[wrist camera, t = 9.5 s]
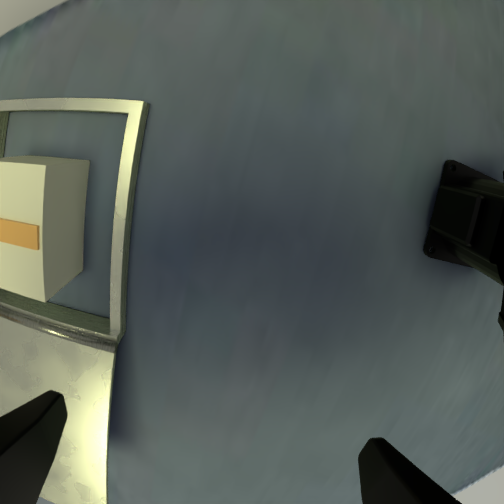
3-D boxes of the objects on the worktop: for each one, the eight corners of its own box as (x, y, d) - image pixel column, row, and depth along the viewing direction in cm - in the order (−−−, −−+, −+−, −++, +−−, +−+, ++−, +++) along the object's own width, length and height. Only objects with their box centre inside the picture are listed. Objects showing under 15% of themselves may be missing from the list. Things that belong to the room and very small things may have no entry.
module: (91, 160, 17) (43, 165, 12) (83, 269, 19) (43, 304, 14) (29, 155, 16) (-23, 160, 11) (26, 255, 18) (-19, 283, 13)
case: (149, 104, 16) (70, 67, 7) (131, 443, 24) (107, 523, 15) (4, 102, 15) (-92, 96, 6) (27, 407, 23) (-12, 469, 14)
